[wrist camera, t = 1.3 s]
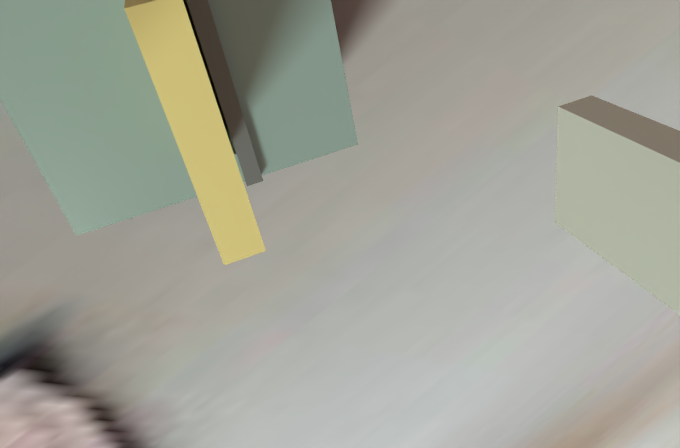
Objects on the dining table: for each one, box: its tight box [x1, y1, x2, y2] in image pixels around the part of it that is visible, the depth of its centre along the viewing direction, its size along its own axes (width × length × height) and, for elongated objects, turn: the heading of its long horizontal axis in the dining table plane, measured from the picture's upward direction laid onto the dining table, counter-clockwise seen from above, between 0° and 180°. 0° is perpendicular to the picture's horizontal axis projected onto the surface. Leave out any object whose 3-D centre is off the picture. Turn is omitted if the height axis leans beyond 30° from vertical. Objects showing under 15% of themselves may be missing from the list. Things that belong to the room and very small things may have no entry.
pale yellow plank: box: [124, 0, 266, 265], centre depth 22 cm, size 1×8×16 cm, turn 11°
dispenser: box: [0, 0, 358, 236], centre depth 26 cm, size 14×12×9 cm
